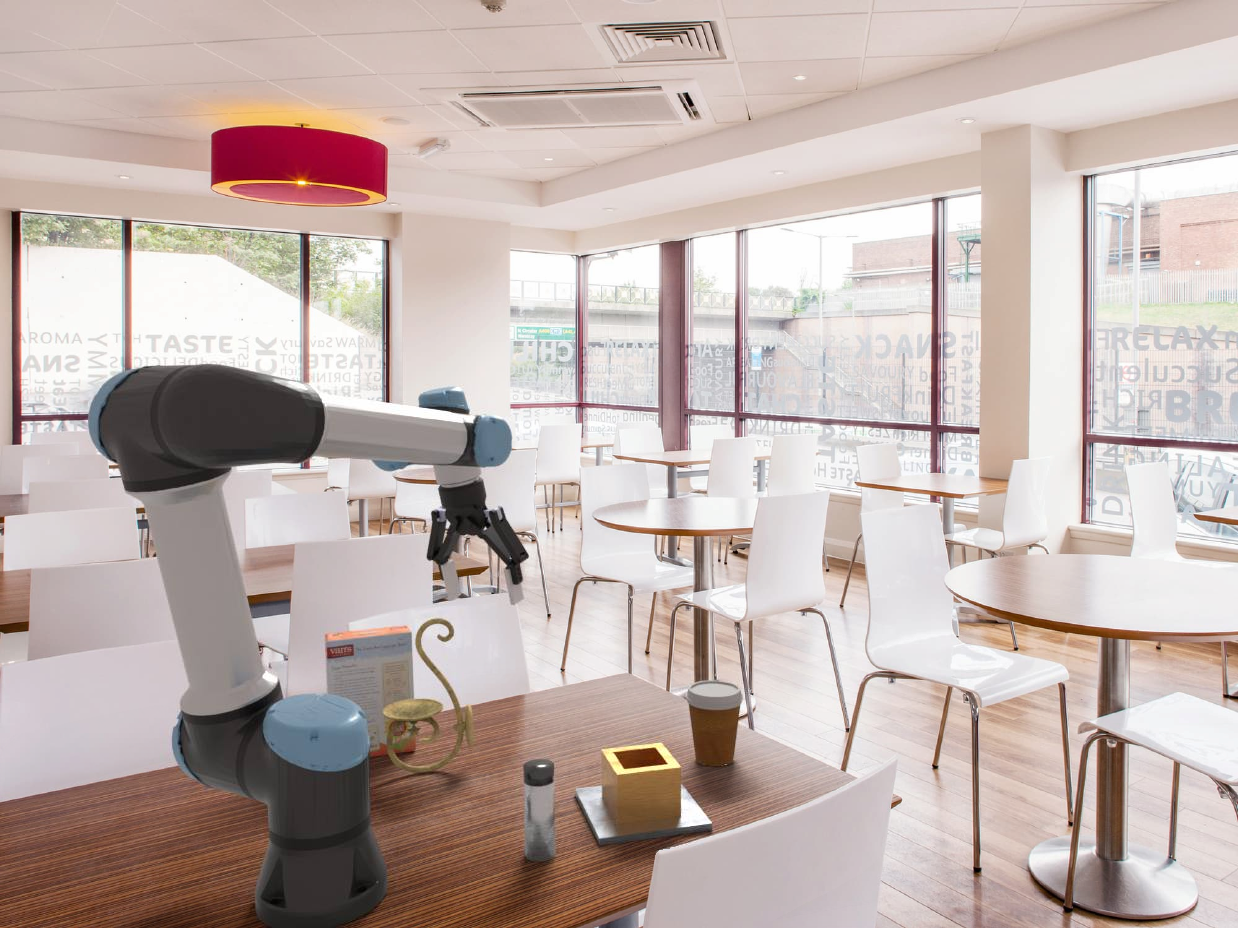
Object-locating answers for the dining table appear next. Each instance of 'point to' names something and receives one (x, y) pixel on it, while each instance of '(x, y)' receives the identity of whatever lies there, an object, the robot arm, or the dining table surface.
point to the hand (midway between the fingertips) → (485, 599)
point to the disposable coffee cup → (714, 720)
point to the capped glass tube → (539, 810)
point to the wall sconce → (428, 710)
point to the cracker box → (374, 679)
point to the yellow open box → (640, 797)
